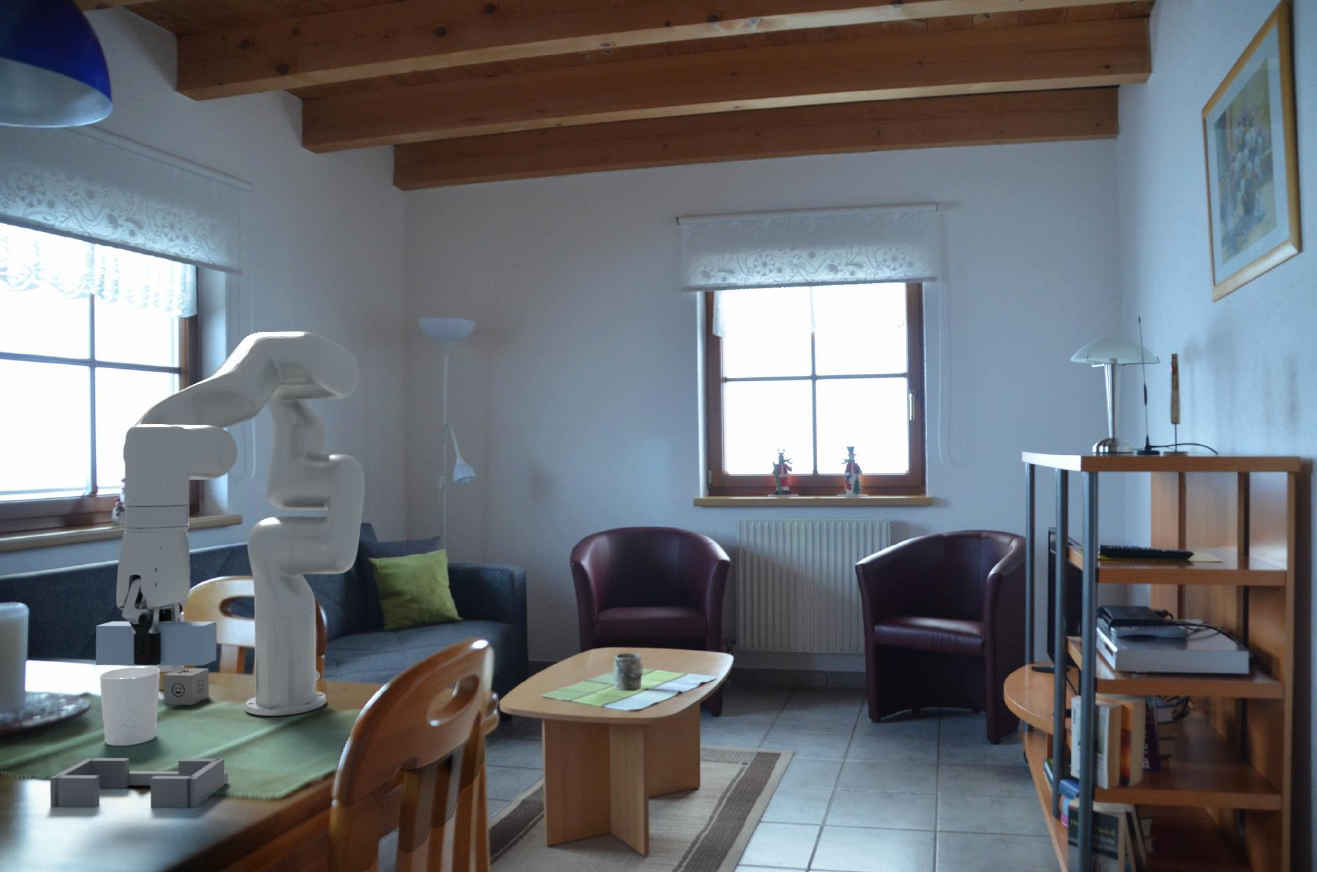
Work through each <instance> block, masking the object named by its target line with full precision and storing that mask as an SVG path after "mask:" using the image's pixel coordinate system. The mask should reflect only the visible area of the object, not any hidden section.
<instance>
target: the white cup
mask: <svg viewBox="0 0 1317 872" xmlns="http://www.w3.org/2000/svg"><path fill="white" fill-rule="evenodd" d="M159 679H160V669H159V668H157V666H156V667H155V666H130V667H122V668H117V669H112V670H109V671H106V672H103V673H101V674H100V675H99V680H100V696H101V697H100V698H101V713H102V722H103V723H102V724H103V726H104V728H103V729H104V743H105V744H107V745H108V746H114V747H124V746H125V747H127V746H133V745H134V746H135V745H137V744H138V745H139V744H143V743H146V742H149V741H152V740H153V739H155V738H156V736H157V730H158V729H157V723H158V721H157V720H158V716H159V703H160V702H159V701H160V690H159Z"/></svg>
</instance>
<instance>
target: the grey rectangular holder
mask: <svg viewBox="0 0 1317 872" xmlns="http://www.w3.org/2000/svg"><path fill="white" fill-rule="evenodd" d="M177 763H178V764H177V766H178V768H177V769H178V770H175V771H174V770H173V771H172V770H167V771H166V770H130V758H129V757H128V758H126V757H124V758H123V757H87V758H85V759H83V760H82V761H80V762H78V763H76V764H73V765H72V766H70V767H68V768H66V769H65V770H63V771H61V772H59V773H57V774H56V775H52V777H50V783H49V784H50V789H49V790H50V807H55V808H56V807H59V808H60V807H64V808H65V807H66V808H71V807H72V808H73V807H75V808H78V807H79V808H95V807H96V806H98V805H100V789H108V788H109V789H126V788H127V787H129V786H150V808H173V809H175V808H185V809H186V808H190V809H191V808H197V807H198V806H200V805H201V804H202V803H203V802H205V801H206V800H207V799H209V798H210V797H211V796H212V795H211V794H212V793H213V792H214V791H216V790H218V789H219V788H220V787H222V786H223V785H224V784H226V783H227V782H228V783H229V771H225V758H181V759H179V760H178V761H177ZM226 785H227V784H226ZM222 788H223V787H222ZM218 791H219V790H218ZM210 795H211V796H210ZM209 796H210V797H209ZM208 797H209V798H208ZM204 800H205V801H204ZM201 802H202V803H201Z"/></svg>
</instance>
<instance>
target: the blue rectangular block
mask: <svg viewBox="0 0 1317 872" xmlns="http://www.w3.org/2000/svg"><path fill="white" fill-rule="evenodd" d="M95 628H96V629H95V630H96V631H95V632H96V633H95V665H96V666H136V665H135V664H134V634H132V626H131V624H130V623H129V621H128V620H126V621H123V620H122V621H119V620H118V621H109V622H105V623H102V624H99V625H98V624H97V625H96V627H95ZM157 633H161V661H160V664H158V665H184V666H205V665H207V664H210V663H212V662H215V661H217V621H185V622H158V630H157Z"/></svg>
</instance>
